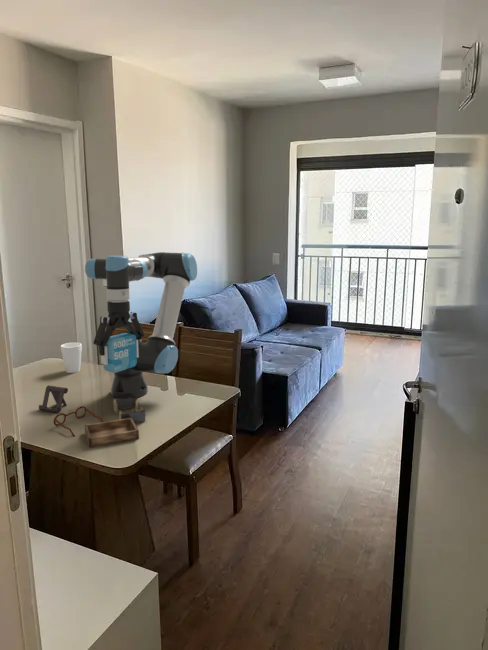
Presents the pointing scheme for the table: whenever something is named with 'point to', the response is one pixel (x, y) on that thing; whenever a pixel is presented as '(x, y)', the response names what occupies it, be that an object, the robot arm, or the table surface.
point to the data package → (121, 352)
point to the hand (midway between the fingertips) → (120, 360)
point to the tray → (111, 432)
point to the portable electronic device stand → (58, 396)
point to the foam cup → (72, 356)
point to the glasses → (75, 416)
